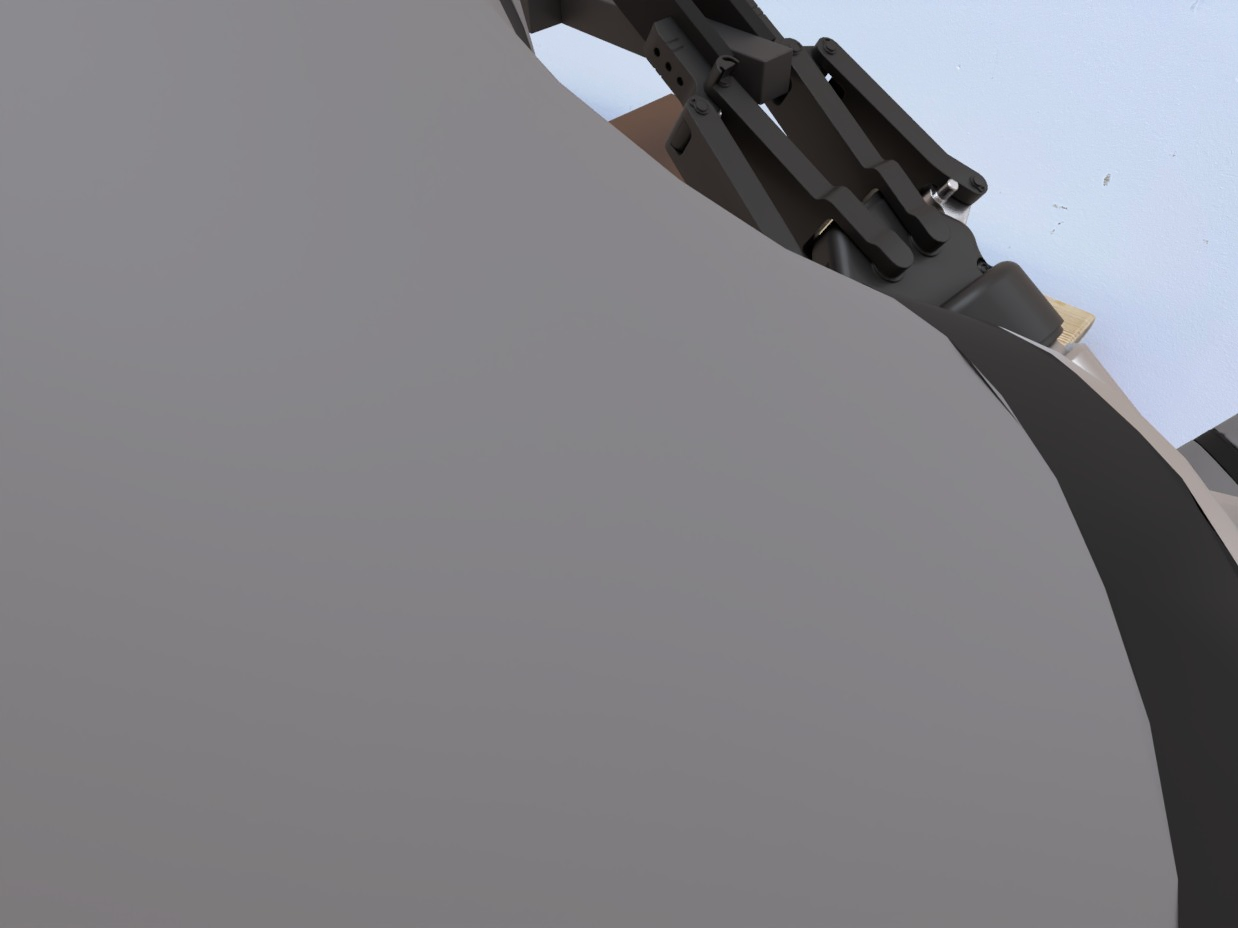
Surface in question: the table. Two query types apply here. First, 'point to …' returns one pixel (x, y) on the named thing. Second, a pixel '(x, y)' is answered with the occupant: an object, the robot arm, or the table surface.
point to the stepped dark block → (593, 12)
